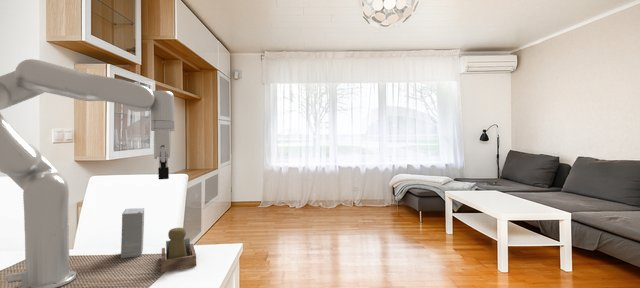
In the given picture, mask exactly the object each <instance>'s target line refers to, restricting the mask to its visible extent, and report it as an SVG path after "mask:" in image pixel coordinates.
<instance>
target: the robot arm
mask: <svg viewBox="0 0 640 288" xmlns="http://www.w3.org/2000/svg"><path fill="white" fill-rule="evenodd" d="M44 93H47V94H51V95H52V94H53V95H57V96H61V97H65V98H70V99H75V100H79V101H83V102H84V101H85V102H107V103H113V104H119V105H123V106H124V107H125V108H126V109H127V110H129V111H131V112H135V113H137V112H138V113H139V112H150V131H151V132H153V159H155V160H157V158H158V168H157V169H158V174H157V175H158V176H157V177H158V180H168V179H170V177H169V176H170V171H169V159H170V158H171V153H172V151H171V149H172V134H171V133H172V132H175V131H176V130H175V95H174V93H173V92H172V91H169V90H153V91H152V90H151V89H150V88H149V87H147V86H145V85H142V84H140V83H135V82H132V81H129V80H128V81H127V80H124V79H120V78H115V77H109V76H104V75H99V74H95V73H94V74H93V73H89V72H85V71H82V70H81V71H80V70H77V69H74V68H70V67H65V66H63V65H58V64H55V63H51V62H49V61H45V60H44V61H43V60H40V59H33V58H29V59H25V60H22V61H21V62H20V63H18V64H17V66H16V67H15V70H14V71H11V72H8V73H6V74H3V75H0V111H1V110H5V109H8V108H10V107H12V106H15V105H18V104H20V103H22V102H25V101H29V100H30V99H32V98H36V97H38V96H39V95H42V94H44ZM0 173H3V174H4V175H7V176H8V177H9V178H10V179H11V180H12V181H13V182H14V183H15V184H16V185H17V186H18V187H20V189H21V190H23V194H22V196H23V198H22V199H23V215H24V216H23V217H24V218H23V219H24V220H23V221H24V223H23V225H24V255H25V257H24V258H25V259H24V260H25V261H24V262H25V270H22V271H20V272H13V273H7V274H6V275H5V281H6V282H7V283H8V284H9V283H16V282H19V284H18V286H17V287H18V288H59V287H62V286H64V285H67V284H69V283H70V282H72V281H74V280H75V279H76V278H77V272H76V271H74V270H71V269H70V234H69V233H70V231H69V230H70V229H69V228H70V227H69V195H70V194H69V193H70V191H69V184H68V181H67V180H66V179H65V177H64V176H63V175H62V174H61V173H60V172H59V171H58V170H57V169H56V168H55V167H54V166H53V165H52V164H51V163H50V161H48V159H47V158H46V157H45V156H44V155H43V154H42V153H41V152H40V151H39V150H38V149H37V148H36V147H35V146H34V145H32V144H30V143H29V142H27V141H26V140H25V139H24V138H23V137H22V135H20V134H19V133H18V132H17V131H16V130H15V129H14V128H13V126H12V125H11V124H10V123H9V122H8V121H7V120H6V118H5V117H4V116H3V115H2V114H1V112H0Z"/></svg>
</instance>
